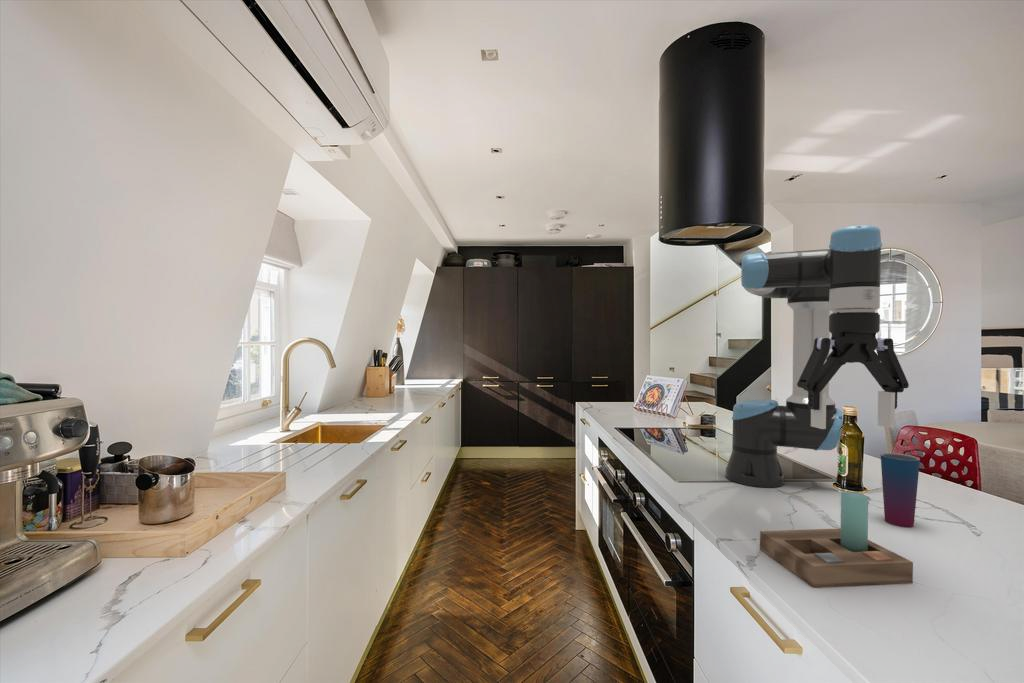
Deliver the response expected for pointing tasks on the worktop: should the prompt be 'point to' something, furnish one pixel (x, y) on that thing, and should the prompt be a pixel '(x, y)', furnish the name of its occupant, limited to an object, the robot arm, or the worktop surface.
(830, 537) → the socket board
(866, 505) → the plug
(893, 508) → the cup
